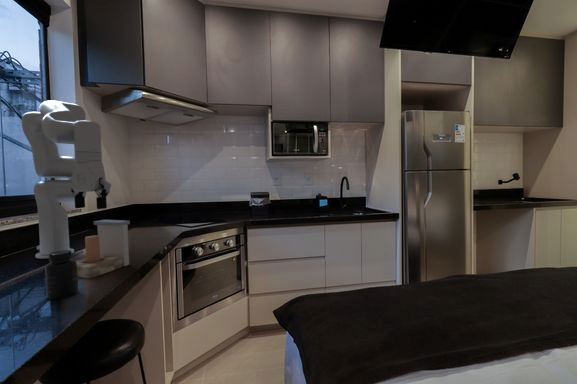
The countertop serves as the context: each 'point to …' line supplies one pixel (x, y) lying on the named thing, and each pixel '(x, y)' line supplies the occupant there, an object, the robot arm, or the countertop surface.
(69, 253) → the supplement bottle
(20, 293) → the countertop surface
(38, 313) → the countertop surface
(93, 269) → the socket block
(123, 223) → the white lidded canister
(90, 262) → the peg
